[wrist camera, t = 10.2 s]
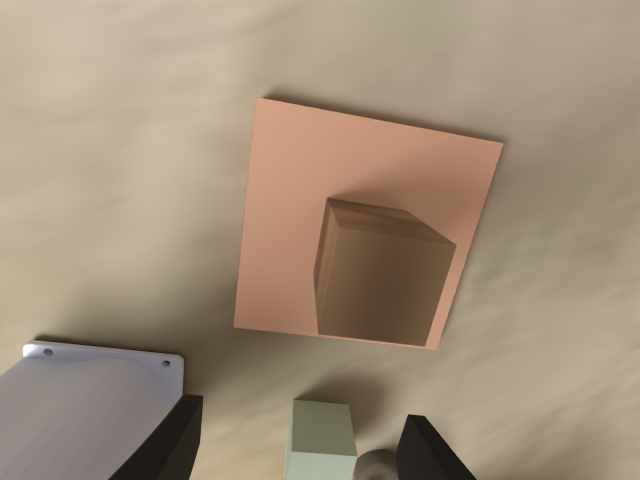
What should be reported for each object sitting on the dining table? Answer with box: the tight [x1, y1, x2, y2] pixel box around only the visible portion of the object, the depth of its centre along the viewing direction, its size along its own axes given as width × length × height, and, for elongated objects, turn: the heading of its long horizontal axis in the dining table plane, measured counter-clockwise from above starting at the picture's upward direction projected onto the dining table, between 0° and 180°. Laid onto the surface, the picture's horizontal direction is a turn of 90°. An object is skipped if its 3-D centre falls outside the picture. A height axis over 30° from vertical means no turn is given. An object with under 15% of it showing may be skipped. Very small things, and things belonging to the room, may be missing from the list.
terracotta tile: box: [233, 97, 504, 350], centre depth 18 cm, size 13×13×1 cm
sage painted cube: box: [284, 399, 358, 480], centre depth 21 cm, size 4×4×4 cm
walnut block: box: [313, 198, 457, 347], centre depth 15 cm, size 4×4×6 cm
